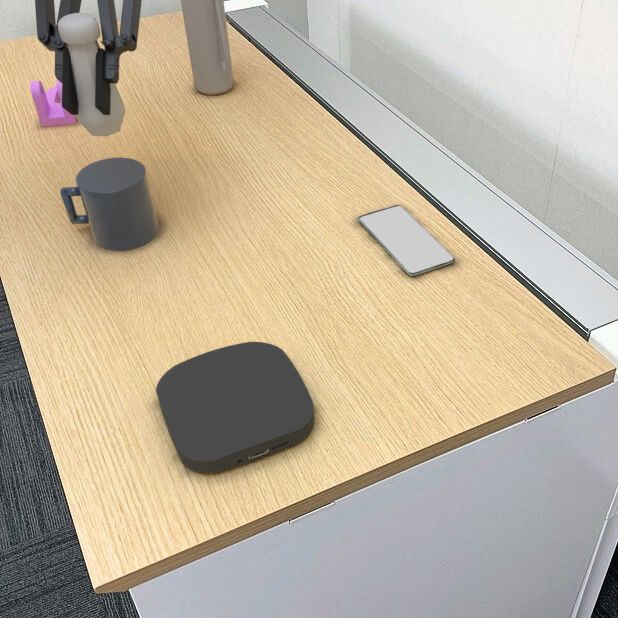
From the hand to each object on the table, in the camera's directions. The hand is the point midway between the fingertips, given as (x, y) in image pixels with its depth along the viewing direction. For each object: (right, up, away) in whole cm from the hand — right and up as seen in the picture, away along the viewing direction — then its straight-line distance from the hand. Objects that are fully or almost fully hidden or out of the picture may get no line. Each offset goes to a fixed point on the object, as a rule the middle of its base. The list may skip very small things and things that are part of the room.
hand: (86, 110), depth 83 cm
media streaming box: (+17, -34, -4) cm, 38 cm away
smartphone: (+37, -12, +18) cm, 43 cm away
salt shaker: (0, 0, +6) cm, 6 cm away
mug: (-3, -10, +20) cm, 23 cm away
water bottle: (+5, +21, +52) cm, 57 cm away
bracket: (-21, +16, +48) cm, 55 cm away
